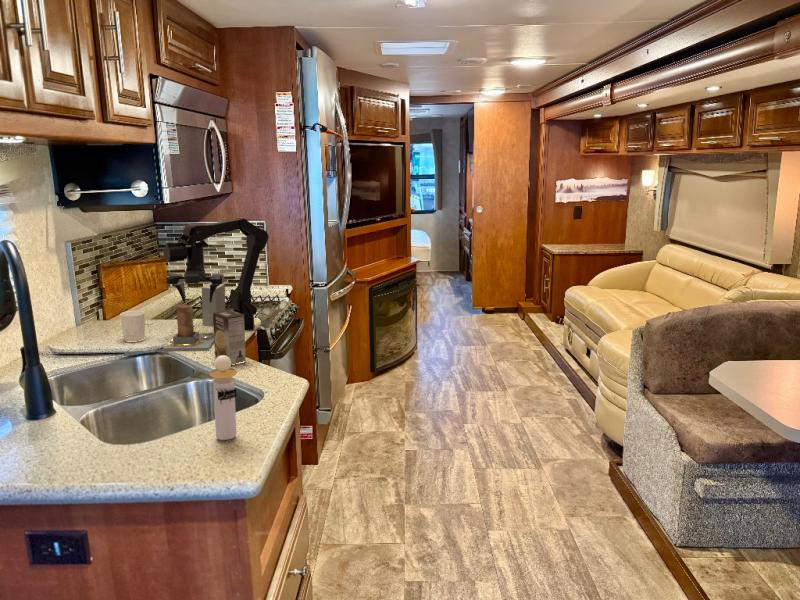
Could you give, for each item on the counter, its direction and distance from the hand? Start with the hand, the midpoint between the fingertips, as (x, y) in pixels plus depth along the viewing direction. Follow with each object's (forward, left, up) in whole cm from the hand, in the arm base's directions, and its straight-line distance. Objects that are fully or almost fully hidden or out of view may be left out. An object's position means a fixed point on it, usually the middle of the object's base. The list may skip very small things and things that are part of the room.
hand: (197, 302), depth 214 cm
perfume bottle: (-24, +86, -13) cm, 90 cm away
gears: (+1, +8, -12) cm, 15 cm away
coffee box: (-16, +29, -13) cm, 36 cm away
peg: (+2, +11, -11) cm, 16 cm away
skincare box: (-2, -19, -13) cm, 24 cm away
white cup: (+22, +3, -13) cm, 26 cm away
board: (+1, +8, -13) cm, 15 cm away
